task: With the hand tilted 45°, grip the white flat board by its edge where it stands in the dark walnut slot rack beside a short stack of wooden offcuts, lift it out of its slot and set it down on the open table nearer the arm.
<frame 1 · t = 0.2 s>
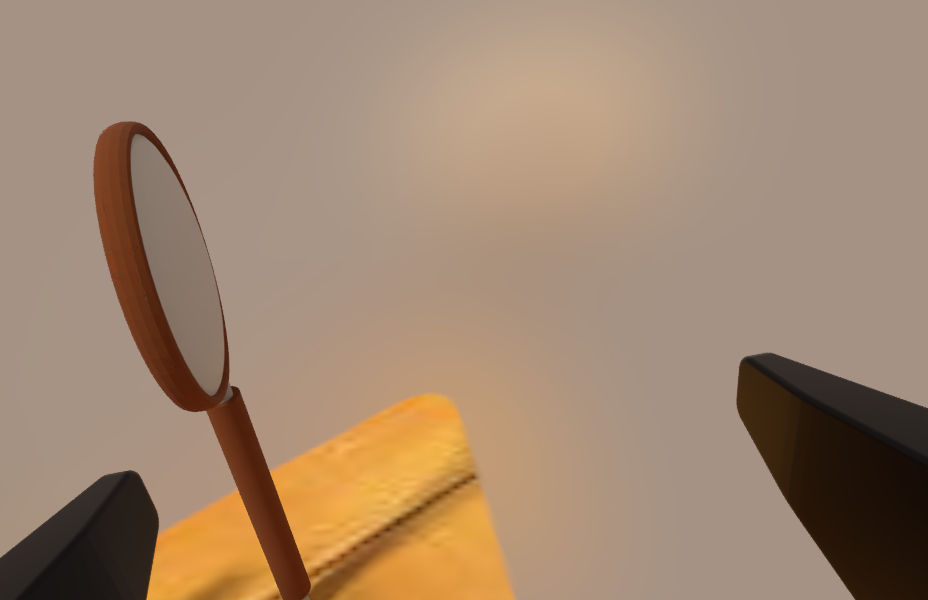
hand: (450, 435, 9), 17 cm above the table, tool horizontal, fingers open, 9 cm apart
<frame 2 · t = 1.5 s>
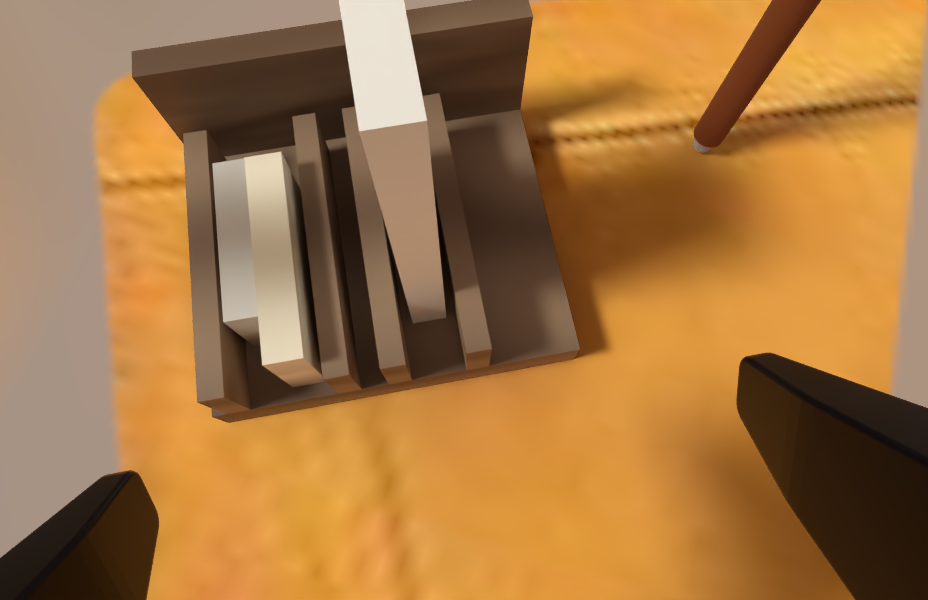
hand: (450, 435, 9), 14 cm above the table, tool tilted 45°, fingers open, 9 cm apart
white flat board: (418, 256, 23), point 1 cm above the table, touching offcut rack
magnifying glass: (698, 151, 27), on the table
offcut rack: (421, 271, 25), on the table
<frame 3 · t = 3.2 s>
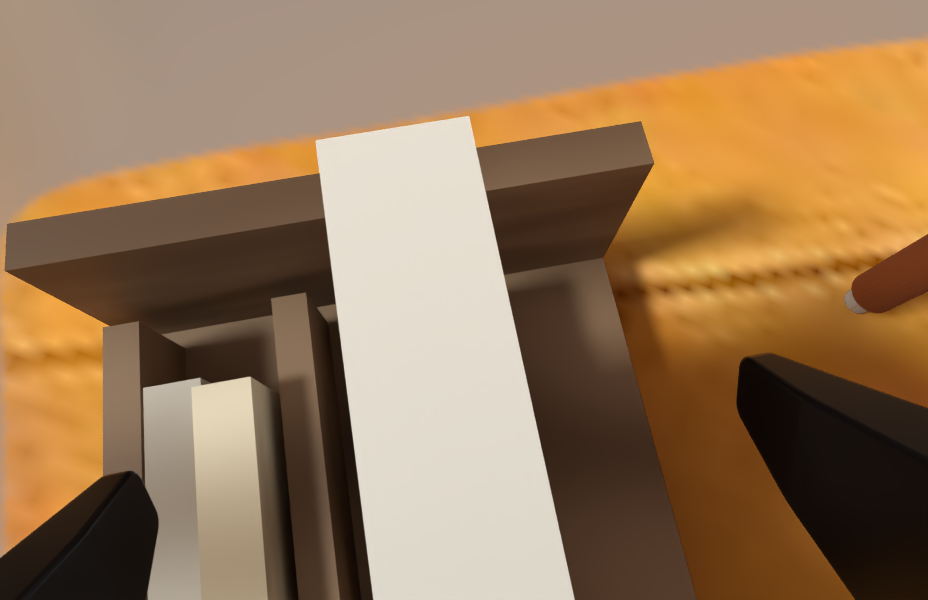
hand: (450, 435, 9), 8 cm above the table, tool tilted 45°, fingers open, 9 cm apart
white flat board: (461, 496, 15), point 1 cm above the table, touching offcut rack
magnifying glass: (848, 306, 19), on the table
offcut rack: (461, 497, 17), on the table
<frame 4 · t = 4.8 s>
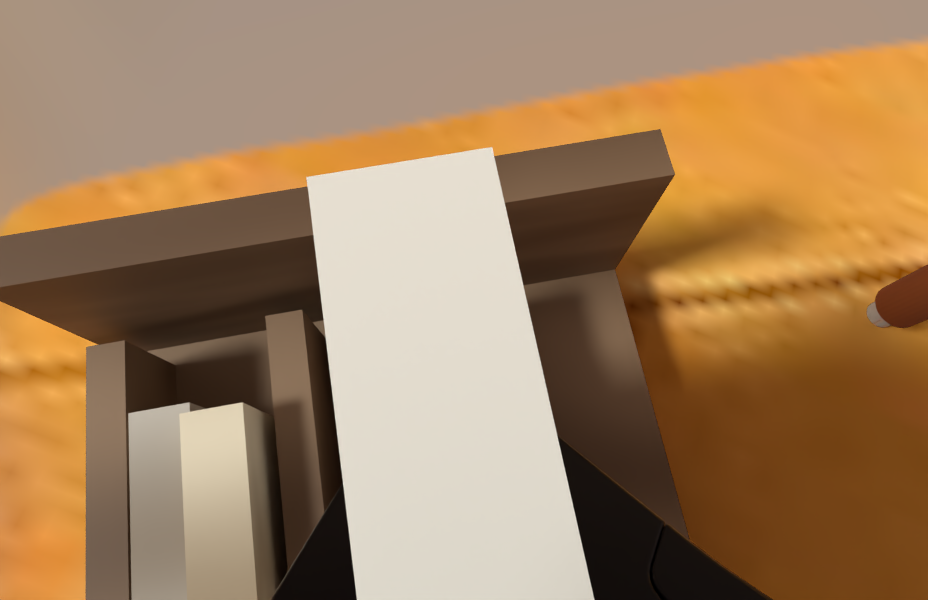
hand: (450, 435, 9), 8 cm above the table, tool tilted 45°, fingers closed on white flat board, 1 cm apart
white flat board: (466, 523, 15), point 2 cm above the table, touching gripper, offcut rack
magnifying glass: (869, 319, 18), on the table
offcut rack: (466, 522, 16), on the table
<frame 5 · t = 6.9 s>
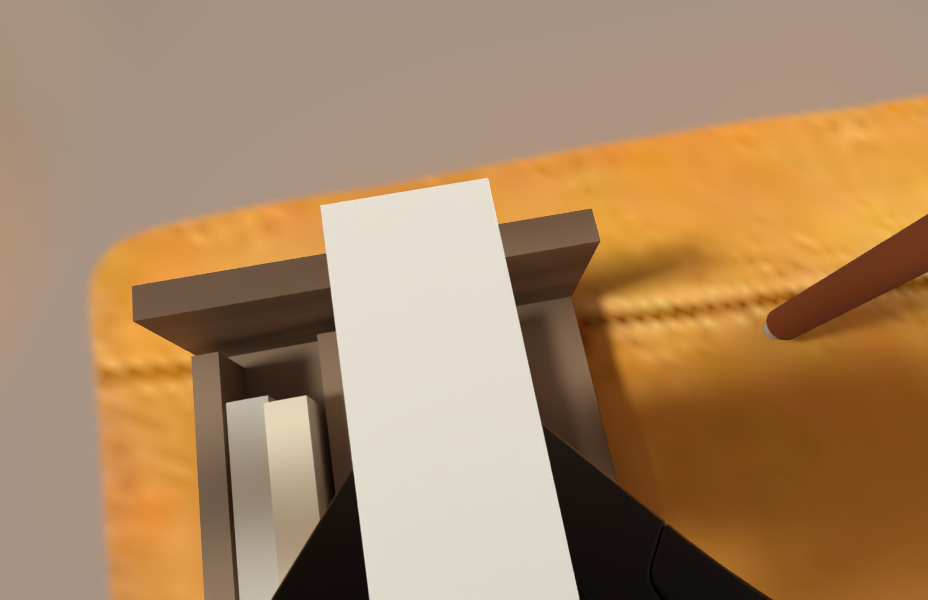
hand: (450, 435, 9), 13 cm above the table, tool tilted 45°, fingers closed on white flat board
white flat board: (466, 517, 15), point 7 cm above the table, touching gripper
magnifying glass: (767, 332, 24), on the table
offcut rack: (459, 484, 22), on the table
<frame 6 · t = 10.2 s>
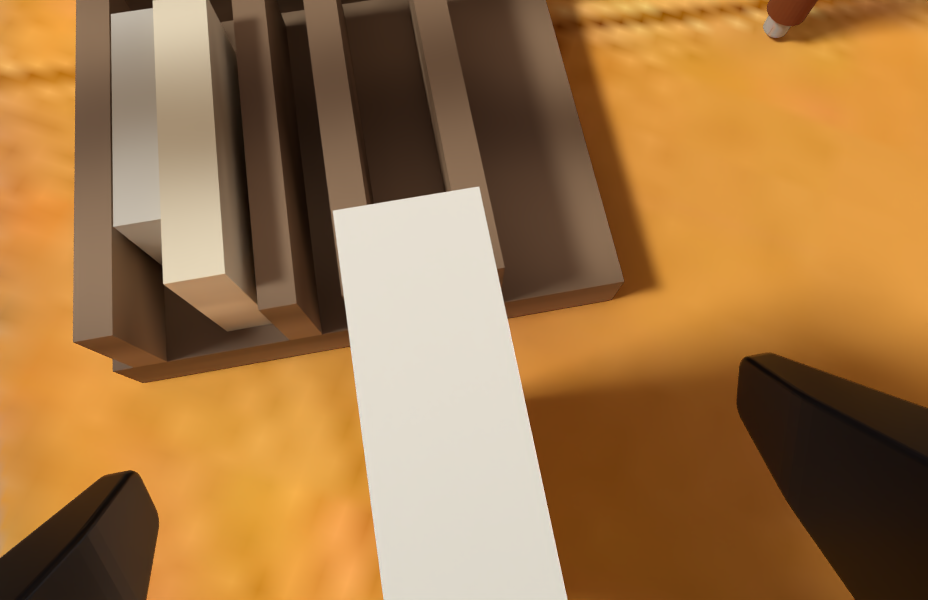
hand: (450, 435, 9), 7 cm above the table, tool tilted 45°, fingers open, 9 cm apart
white flat board: (464, 510, 16), on the table
magnifying glass: (768, 38, 20), on the table
offcut rack: (407, 186, 19), on the table
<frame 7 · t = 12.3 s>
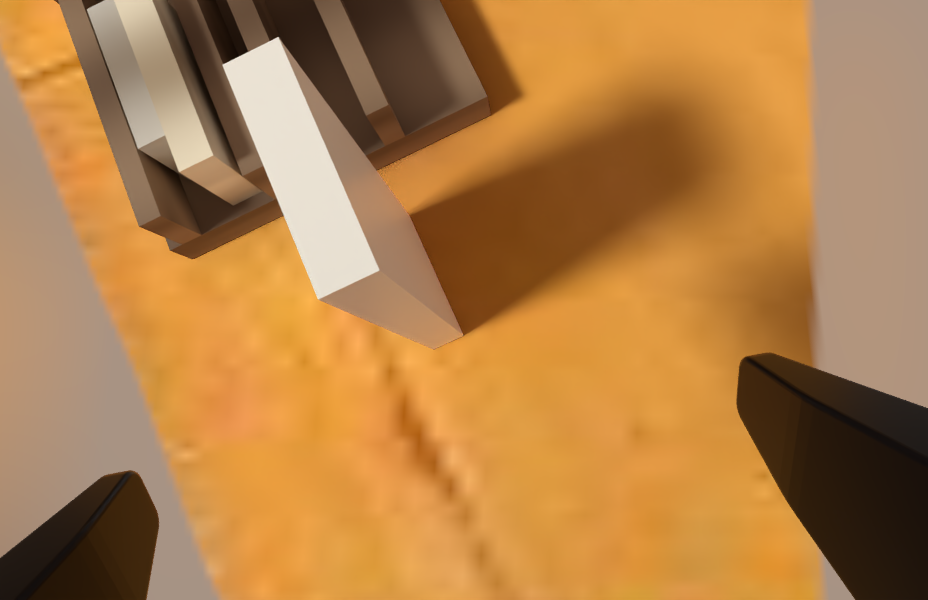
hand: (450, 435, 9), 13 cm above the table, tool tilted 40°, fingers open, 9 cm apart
white flat board: (421, 281, 23), on the table
offcut rack: (329, 74, 25), on the table
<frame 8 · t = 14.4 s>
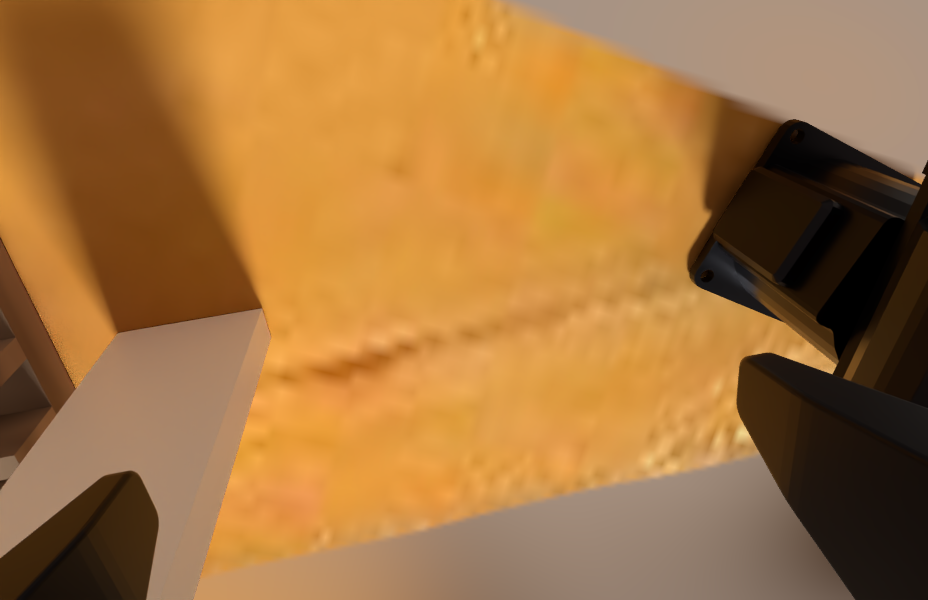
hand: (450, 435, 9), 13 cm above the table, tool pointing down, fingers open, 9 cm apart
white flat board: (195, 335, 22), on the table
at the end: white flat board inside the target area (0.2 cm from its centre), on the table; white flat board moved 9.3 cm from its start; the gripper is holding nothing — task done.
